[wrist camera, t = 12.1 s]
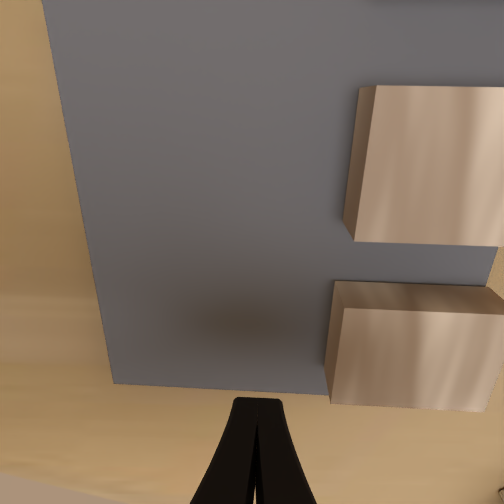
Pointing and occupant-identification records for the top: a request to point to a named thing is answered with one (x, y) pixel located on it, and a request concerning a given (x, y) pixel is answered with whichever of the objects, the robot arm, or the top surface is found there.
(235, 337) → the mat
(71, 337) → the top surface
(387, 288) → the tile one
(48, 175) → the top surface
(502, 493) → the skincare box
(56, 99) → the top surface
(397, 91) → the tile two
